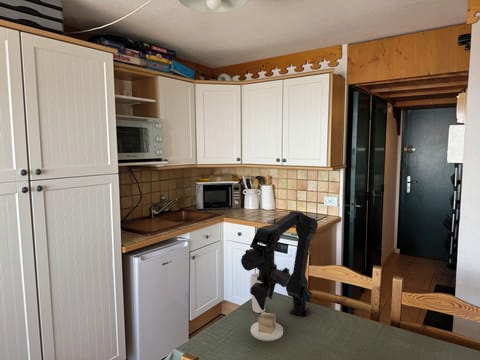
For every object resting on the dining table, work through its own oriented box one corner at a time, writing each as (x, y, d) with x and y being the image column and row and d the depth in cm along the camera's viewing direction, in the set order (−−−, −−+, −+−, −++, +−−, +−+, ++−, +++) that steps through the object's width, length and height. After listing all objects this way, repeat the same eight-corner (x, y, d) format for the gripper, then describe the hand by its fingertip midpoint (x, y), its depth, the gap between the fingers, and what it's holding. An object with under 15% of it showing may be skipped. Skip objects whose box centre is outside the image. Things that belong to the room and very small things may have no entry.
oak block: (262, 324, 129) (262, 312, 128) (275, 327, 127) (275, 314, 126) (258, 331, 124) (258, 318, 124) (271, 334, 122) (271, 321, 122)
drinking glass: (265, 315, 138) (265, 279, 136) (249, 313, 139) (249, 278, 137) (267, 307, 144) (267, 273, 142) (252, 305, 146) (251, 272, 144)
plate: (256, 320, 133) (256, 318, 133) (286, 326, 129) (286, 324, 129) (245, 337, 122) (245, 334, 122) (277, 344, 118) (277, 341, 118)
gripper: (281, 275, 111) (281, 320, 113) (294, 257, 128) (294, 296, 130) (249, 270, 115) (249, 314, 117) (266, 253, 132) (266, 292, 134)
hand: (266, 303), depth 124 cm, fingers open, 9 cm apart
